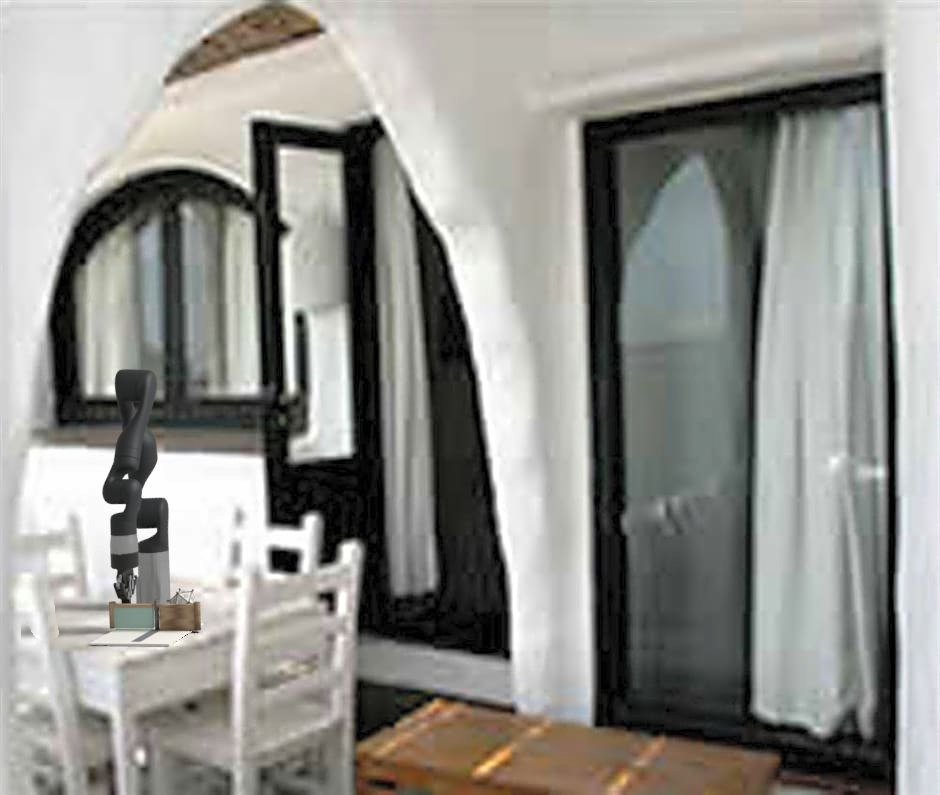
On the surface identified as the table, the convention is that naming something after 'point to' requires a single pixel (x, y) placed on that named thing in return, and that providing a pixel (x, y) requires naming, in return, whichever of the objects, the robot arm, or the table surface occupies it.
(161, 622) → the fixed fence section
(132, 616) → the tan and green panel
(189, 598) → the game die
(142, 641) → the board
